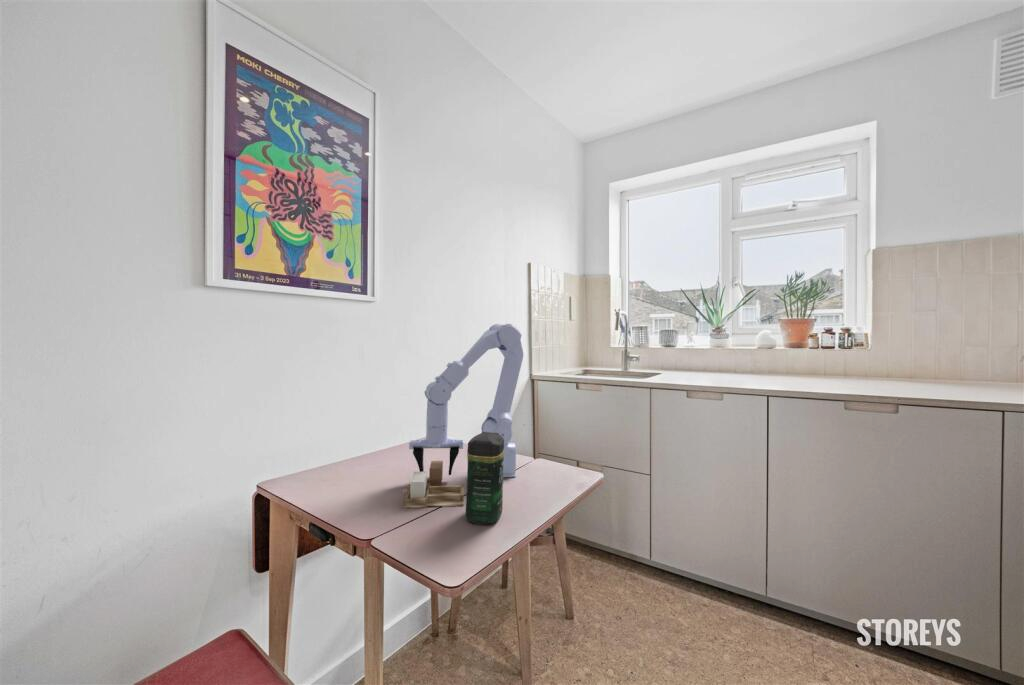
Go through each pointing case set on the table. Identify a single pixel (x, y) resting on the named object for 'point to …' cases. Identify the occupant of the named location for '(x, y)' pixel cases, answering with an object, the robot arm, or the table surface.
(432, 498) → the jig
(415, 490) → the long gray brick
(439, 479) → the tall wooden block
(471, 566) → the table surface
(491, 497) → the coffee jar
